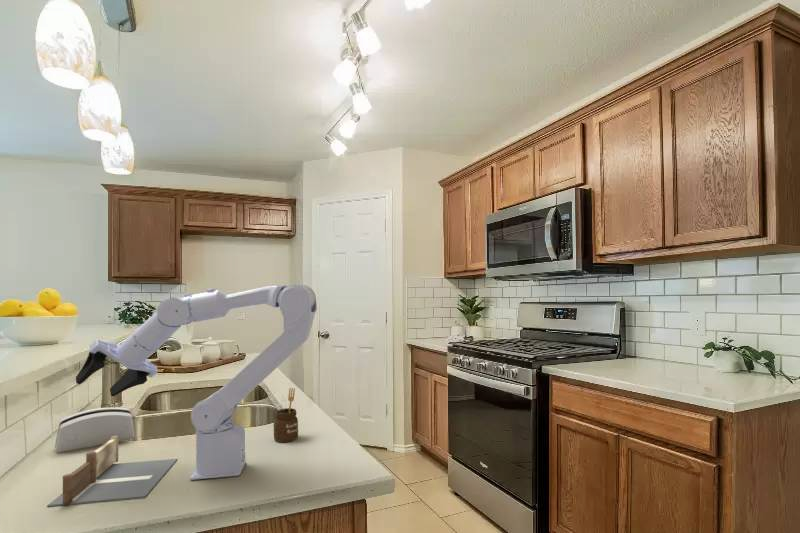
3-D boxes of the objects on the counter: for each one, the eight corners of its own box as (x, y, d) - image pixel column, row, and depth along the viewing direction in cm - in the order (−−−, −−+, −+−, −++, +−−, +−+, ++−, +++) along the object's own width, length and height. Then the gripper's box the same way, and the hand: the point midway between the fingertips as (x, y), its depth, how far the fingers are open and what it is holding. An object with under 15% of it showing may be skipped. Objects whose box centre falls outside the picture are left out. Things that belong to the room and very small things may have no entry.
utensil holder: (268, 442, 114) (268, 392, 115) (283, 434, 120) (282, 387, 121) (289, 444, 112) (289, 393, 113) (303, 436, 118) (302, 388, 119)
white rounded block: (132, 433, 124) (134, 399, 122) (134, 443, 121) (136, 409, 118) (54, 447, 114) (54, 411, 112) (54, 459, 111) (54, 422, 108)
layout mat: (177, 460, 103) (177, 458, 103) (145, 497, 85) (145, 495, 85) (98, 466, 101) (98, 464, 101) (47, 506, 82) (47, 504, 82)
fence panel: (97, 478, 93) (97, 450, 93) (90, 479, 92) (90, 451, 93) (119, 460, 103) (119, 435, 103) (112, 460, 102) (112, 435, 103)
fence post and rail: (97, 482, 92) (97, 451, 93) (70, 505, 82) (70, 470, 83) (88, 482, 92) (88, 452, 92) (60, 506, 82) (60, 471, 82)
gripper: (169, 343, 105) (123, 385, 104) (111, 314, 94) (60, 361, 94) (175, 363, 100) (127, 407, 100) (115, 336, 90) (61, 385, 89)
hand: (95, 386), depth 96 cm, fingers open, 7 cm apart
